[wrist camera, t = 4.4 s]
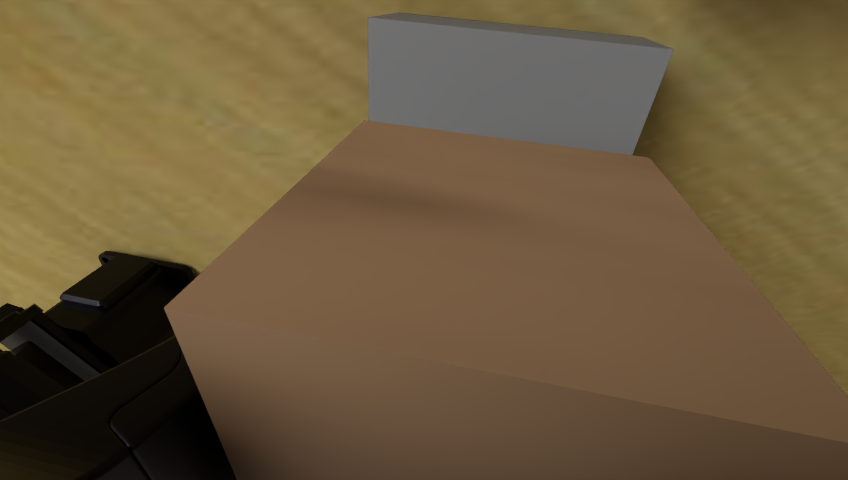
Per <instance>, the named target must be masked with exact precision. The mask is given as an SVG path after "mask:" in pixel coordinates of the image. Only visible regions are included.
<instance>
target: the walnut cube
mask: <svg viewBox="0 0 848 480" xmlns="http://www.w3.org/2000/svg"><path fill="white" fill-rule="evenodd" d="M164 309H165V312H166V314H167V316H168V319H169V321H170V324H171V326H172V328H173V331H174V333H175V335H176V338H177V340H178V342H179V345H180V347H181V349H182V352H183V354H184V357H185V359H186V361H187V364H188V366H189V368H190V371H191V373H192V375H193V378H194V380H195V382H196V385H197V387H198V389H199V392H200V394H201V397H202V399H203V401H204V404H205V406H206V408H207V411H208V413H209V415H210V418H211V420H212V422H213V425H214V427H215V429H216V432H217V434H218V437H219V439H220V441H221V444H222V446H223V448H224V451H225V453H226V455H227V458H228V460H229V462H230V465H231V467H232V470H233V472H234V474H235V477H236V479H237V480H848V396H847V395H846V394H845V393H844V392H843V390H842V389H841V388H840V387H839V385H838V384H837V383H836V382H835V381H834V379H833V378H832V377H831V376H830V375H829V373H828V372H827V371H826V370H825V369H824V367H823V366H822V365H821V364H820V363H819V361H818V360H817V359H816V358H815V357H814V355H813V354H812V353H811V352H810V350H809V349H808V348H807V347H806V346H805V344H804V343H803V342H802V341H801V340H800V338H799V337H798V336H797V335H796V334H795V332H794V331H793V330H792V329H791V328H790V326H789V325H788V324H787V323H786V322H785V320H784V319H783V318H782V317H781V315H780V314H779V313H778V312H777V311H776V309H775V308H774V307H773V306H772V305H771V303H770V302H769V301H768V300H767V299H766V297H765V296H764V295H763V294H762V293H761V291H760V290H759V289H758V288H757V287H756V285H755V284H754V283H753V282H752V280H751V279H750V278H749V277H748V276H747V274H746V273H745V272H744V271H743V270H742V268H741V267H740V266H739V265H738V264H737V262H736V261H735V260H734V259H733V258H732V256H731V255H730V254H729V253H728V252H727V250H726V249H725V248H724V247H723V245H722V244H721V243H720V242H719V241H718V239H717V238H716V237H715V236H714V235H713V233H712V232H711V231H710V230H709V229H708V227H707V226H706V225H705V224H704V223H703V221H702V220H701V219H700V218H699V217H698V215H697V214H696V213H695V212H694V210H693V209H692V208H691V207H690V206H689V204H688V203H687V202H686V201H685V200H684V198H683V197H682V196H681V195H680V194H679V192H678V191H677V190H676V189H675V188H674V186H673V185H672V184H671V183H670V181H669V180H668V179H667V178H666V177H665V175H664V174H663V173H662V172H661V171H660V169H659V168H658V167H657V166H656V165H655V163H654V162H653V161H652V160H651V159H650V158H649V157H642V156H634V155H626V154H619V153H611V152H604V151H596V150H588V149H581V148H573V147H565V146H558V145H550V144H542V143H535V142H527V141H519V140H512V139H504V138H496V137H489V136H481V135H473V134H466V133H458V132H450V131H443V130H435V129H427V128H420V127H412V126H404V125H397V124H389V123H381V122H374V121H366V120H364V121H363V122H362V123H361V124H360V125H359V126H358V127H357V128H356V129H355V130H354V131H353V132H352V133H350V134H349V135H348V136H347V137H346V138H345V139H344V140H343V141H342V142H341V143H340V144H339V145H338V146H337V147H335V148H334V149H333V150H332V151H331V152H330V153H329V154H328V155H327V156H326V157H325V158H324V159H323V160H322V161H320V162H319V163H318V164H317V165H316V166H315V167H314V168H313V169H312V170H311V171H310V172H309V173H308V174H307V175H305V176H304V177H303V178H302V179H301V180H300V181H299V182H298V183H297V184H296V185H295V186H294V187H293V188H292V189H290V190H289V191H288V192H287V193H286V194H285V195H284V196H283V197H282V198H281V199H280V200H279V201H278V202H277V203H275V204H274V205H273V206H272V207H271V208H270V209H269V210H268V211H267V212H266V213H265V214H264V215H263V216H262V217H260V218H259V219H258V220H257V221H256V222H255V223H254V224H253V225H252V226H251V227H250V228H249V229H248V230H247V231H245V232H244V233H243V234H242V235H241V236H240V237H239V238H238V239H237V240H236V241H235V242H234V243H233V244H232V245H230V246H229V247H228V248H227V249H226V250H225V251H224V252H223V253H222V254H221V255H220V256H219V257H218V258H217V259H216V260H214V261H213V262H212V263H211V264H210V265H209V266H208V267H207V268H206V269H205V270H204V271H203V272H202V273H201V274H199V275H198V276H197V277H196V278H195V279H194V280H193V281H192V282H191V283H190V284H189V285H188V286H187V287H186V288H184V289H183V290H182V291H181V292H180V293H179V294H178V295H177V296H176V297H175V298H174V299H173V300H172V301H171V302H169V303H168V304H167V305H166V306H165V307H164Z"/></svg>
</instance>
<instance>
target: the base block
mask: <svg viewBox="0 0 848 480" xmlns="http://www.w3.org/2000/svg"><path fill="white" fill-rule="evenodd" d="M673 50H674V49H671V48H669V47H666V46H664V45H661V44H658V43H656V42H653V41H651V40H648V39H646V38H643V37H633V36H624V35H614V34H604V33H594V32H584V31H574V30H564V29H555V28H545V27H535V26H525V25H515V24H505V23H495V22H485V21H476V20H466V19H456V18H446V17H436V16H426V15H416V14H407V13H394V14H387V15H381V16H374V17H368V80H369V121H374V122H381V123H389V124H397V125H404V126H412V127H420V128H427V129H435V130H443V131H450V132H458V133H466V134H473V135H481V136H489V137H496V138H504V139H512V140H519V141H527V142H535V143H542V144H550V145H558V146H565V147H573V148H581V149H588V150H596V151H604V152H611V153H619V154H626V155H632V154H633V152H634V149H635V147H636V144H637V142H638V139H639V137H640V134H641V132H642V129H643V126H644V124H645V121H646V119H647V116H648V114H649V111H650V109H651V106H652V104H653V101H654V98H655V96H656V93H657V91H658V88H659V86H660V83H661V81H662V78H663V76H664V73H665V71H666V68H667V65H668V63H669V60H670V58H671V55H672V53H673Z"/></svg>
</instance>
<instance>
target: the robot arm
mask: <svg viewBox="0 0 848 480" xmlns="http://www.w3.org/2000/svg"><path fill="white" fill-rule="evenodd" d="M99 260H100V262H101V264H102V266H101V267H99V268H98V269H97V270H95V271H94V272H92V273H91V274H89V275H88V276H86V277H85V278H84V279H82V280H81V281H79V282H78V283H76V284H75V285H73V286H72V287H70V288H69V289H68V290H66V291H65V292H63V293H62V294H61V296H60V299H61V302H59V303H58V304H56V305H55V306H53V307H52V308H51V309H49V310H48V311H46V312H45V313H43V312H42V311H43V310H42V309H41V308H40V307H38V306H37V305H36V304H33V305H32V306H30V307H28V308H26V309H25V310H24V309H23V308H22V307H17V306H14V305H11V304H8V303H7V304H5V305H3V306H2V307H0V343H1V344H3V345H4V346H6V347H7V348H8V349H10V351H2V350H1V349H0V480H237V479H236V477H235V474H234V472H233V470H232V467H231V465H230V462H229V460H228V458H227V455H226V453H225V451H224V448H223V446H222V444H221V441H220V439H219V437H218V434H217V432H216V429H215V427H214V425H213V422H212V420H211V418H210V415H209V413H208V411H207V408H206V406H205V404H204V401H203V399H202V397H201V394H200V392H199V389H198V387H197V385H196V382H195V380H194V378H193V375H192V373H191V371H190V368H189V366H188V364H187V361H186V359H185V357H184V354H183V352H182V349H181V347H180V345H179V342H178V340H177V338H176V335H175V333H174V331H173V328H172V326H171V324H170V321H169V319H168V316H167V314H166V312H165V309H164V307H165V306H166V305H167V304H168V303H169V302H171V301H172V300H173V299H174V298H175V297H176V296H177V295H178V294H179V293H180V292H181V291H182V290H183V289H184V288H186V287H187V286H188V285H189V284H190V283H191V282H192V281H193V280H194V279H195V278H194V275H193V272H192V271H191V269H190V268H189V267H187V266H185V265H181V264H175V263H170V262H165V261H159V260H154V259H148V258H143V257H138V256H132V255H127V254H121V253H116V252H111V251H105V252H103V253H102V254H100V255H99Z"/></svg>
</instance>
